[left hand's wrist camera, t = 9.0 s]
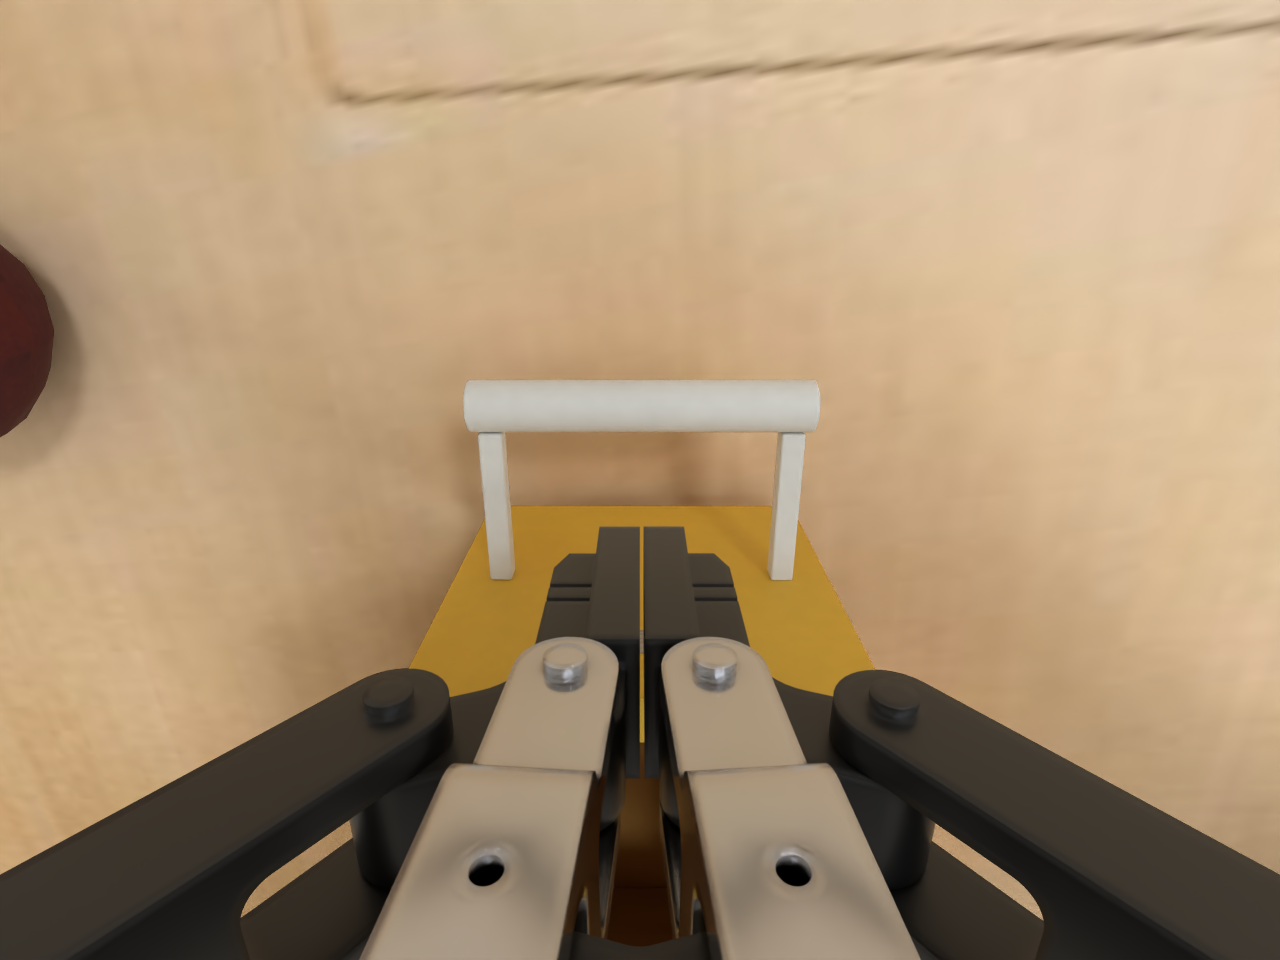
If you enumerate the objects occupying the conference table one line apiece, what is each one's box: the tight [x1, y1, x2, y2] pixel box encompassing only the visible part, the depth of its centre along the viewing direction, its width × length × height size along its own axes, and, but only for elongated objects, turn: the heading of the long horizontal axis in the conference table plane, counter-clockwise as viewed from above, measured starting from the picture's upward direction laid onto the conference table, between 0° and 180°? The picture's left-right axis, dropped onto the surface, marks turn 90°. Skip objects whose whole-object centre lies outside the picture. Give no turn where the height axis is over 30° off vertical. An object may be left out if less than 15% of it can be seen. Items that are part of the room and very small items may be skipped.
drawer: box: [409, 380, 875, 947], centre depth 21 cm, size 23×10×10 cm, turn 0°
